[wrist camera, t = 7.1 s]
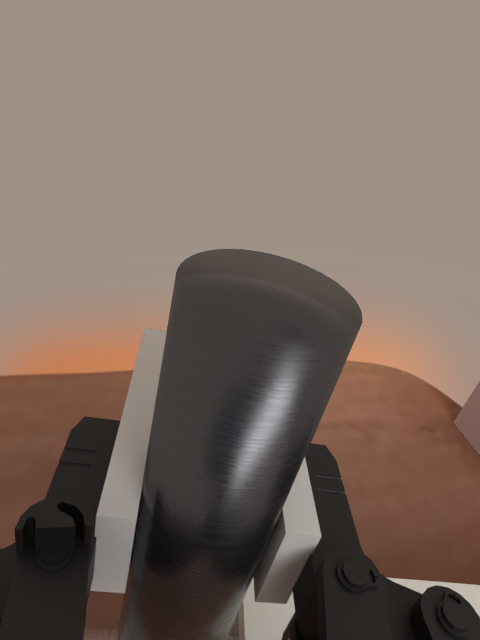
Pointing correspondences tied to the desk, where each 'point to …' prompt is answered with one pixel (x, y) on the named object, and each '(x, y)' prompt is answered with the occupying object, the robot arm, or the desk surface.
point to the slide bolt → (228, 434)
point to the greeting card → (471, 419)
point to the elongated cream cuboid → (272, 618)
